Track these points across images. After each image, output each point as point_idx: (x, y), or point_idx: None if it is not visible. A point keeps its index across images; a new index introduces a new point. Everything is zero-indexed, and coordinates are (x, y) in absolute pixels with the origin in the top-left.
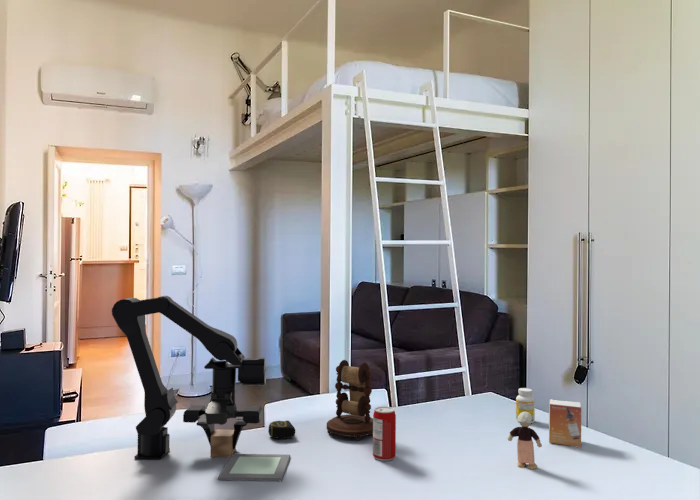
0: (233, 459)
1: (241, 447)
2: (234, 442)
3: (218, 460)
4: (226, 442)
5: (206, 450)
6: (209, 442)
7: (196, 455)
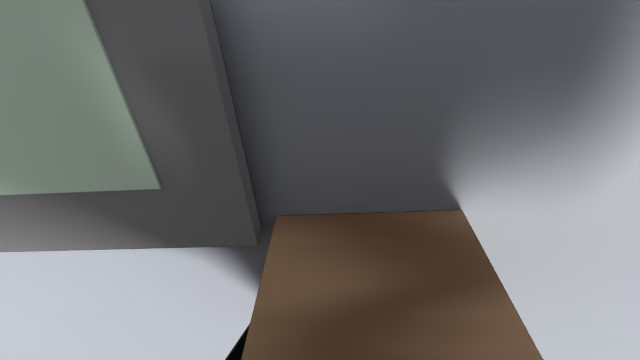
0: (182, 117)
1: None
2: None
3: (363, 135)
4: (305, 335)
5: None
6: None
7: (597, 224)
